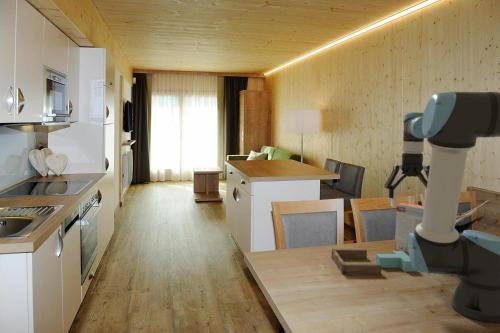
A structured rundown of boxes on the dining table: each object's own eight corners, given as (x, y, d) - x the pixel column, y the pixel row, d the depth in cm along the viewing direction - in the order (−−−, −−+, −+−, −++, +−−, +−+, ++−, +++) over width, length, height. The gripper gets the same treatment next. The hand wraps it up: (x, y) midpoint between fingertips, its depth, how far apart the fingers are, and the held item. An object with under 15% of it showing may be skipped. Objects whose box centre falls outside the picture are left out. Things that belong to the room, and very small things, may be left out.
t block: (414, 271, 145) (415, 261, 145) (383, 271, 145) (383, 261, 145) (401, 260, 157) (402, 250, 157) (372, 260, 157) (372, 250, 157)
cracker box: (432, 256, 162) (435, 207, 159) (424, 259, 158) (427, 209, 156) (401, 247, 173) (404, 201, 170) (393, 250, 169) (396, 203, 167)
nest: (381, 274, 142) (381, 265, 142) (342, 274, 142) (343, 265, 141) (365, 257, 160) (366, 249, 160) (331, 257, 160) (331, 249, 159)
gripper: (438, 152, 155) (435, 204, 157) (377, 151, 153) (375, 204, 155) (449, 153, 147) (445, 208, 149) (385, 152, 146) (382, 208, 148)
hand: (409, 206), depth 152 cm, fingers open, 13 cm apart
